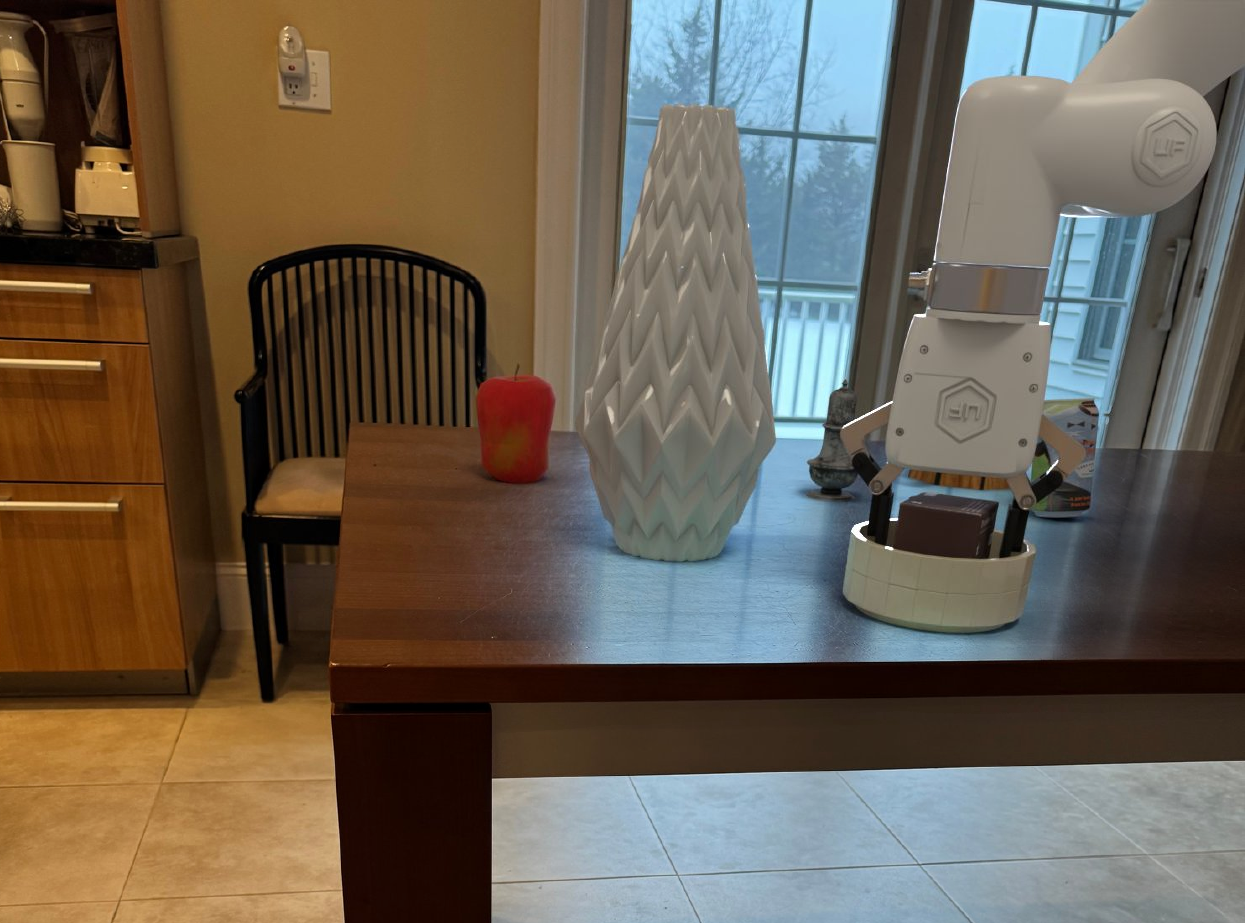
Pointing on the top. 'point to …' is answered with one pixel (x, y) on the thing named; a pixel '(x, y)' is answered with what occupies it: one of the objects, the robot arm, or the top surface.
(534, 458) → the apple
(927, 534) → the box
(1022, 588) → the bowl
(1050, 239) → the robot arm
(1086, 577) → the top surface
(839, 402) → the salt shaker
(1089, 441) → the beverage can
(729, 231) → the vase
